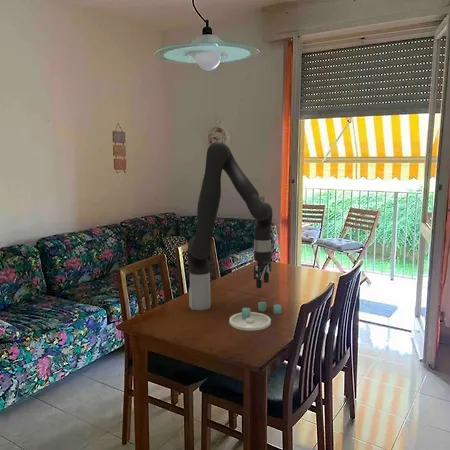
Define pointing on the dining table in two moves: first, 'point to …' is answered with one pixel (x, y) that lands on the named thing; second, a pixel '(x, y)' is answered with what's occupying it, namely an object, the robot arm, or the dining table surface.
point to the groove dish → (250, 321)
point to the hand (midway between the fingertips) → (262, 285)
